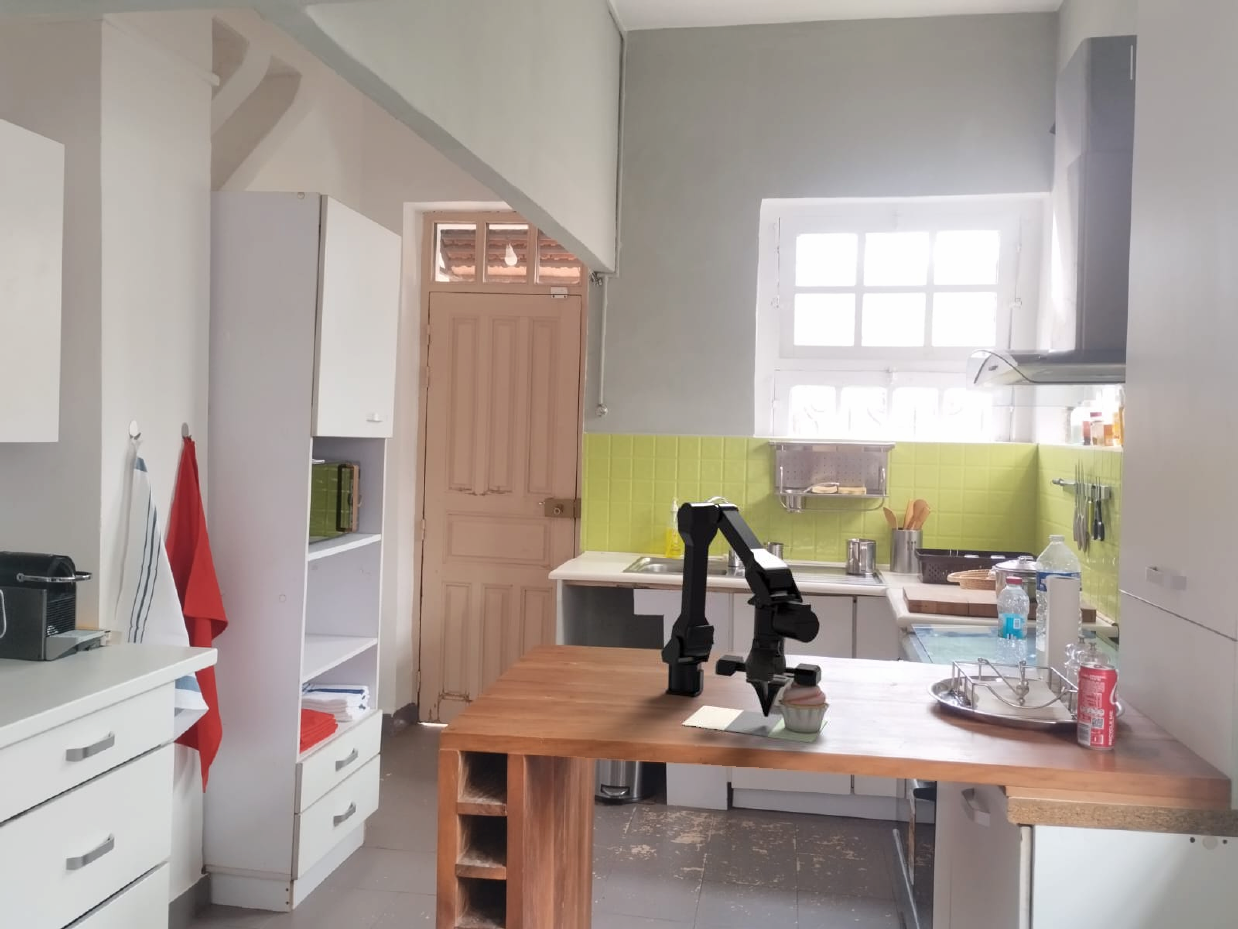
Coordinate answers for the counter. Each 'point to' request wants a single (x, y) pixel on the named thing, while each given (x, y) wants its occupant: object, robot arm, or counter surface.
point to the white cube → (780, 693)
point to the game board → (747, 723)
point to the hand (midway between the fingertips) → (766, 716)
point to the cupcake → (803, 708)
